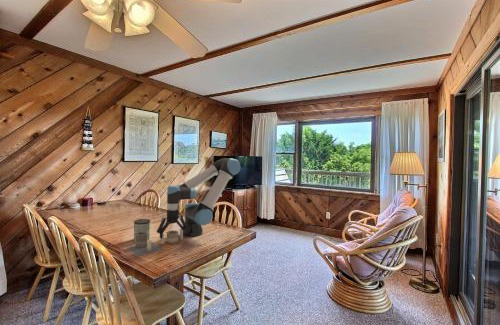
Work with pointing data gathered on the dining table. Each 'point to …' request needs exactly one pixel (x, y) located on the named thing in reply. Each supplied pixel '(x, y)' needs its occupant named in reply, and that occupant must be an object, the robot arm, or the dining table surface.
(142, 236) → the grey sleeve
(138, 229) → the coffee can
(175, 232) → the cream sleeve
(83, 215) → the dining table surface
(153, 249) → the pin board
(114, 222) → the dining table surface
